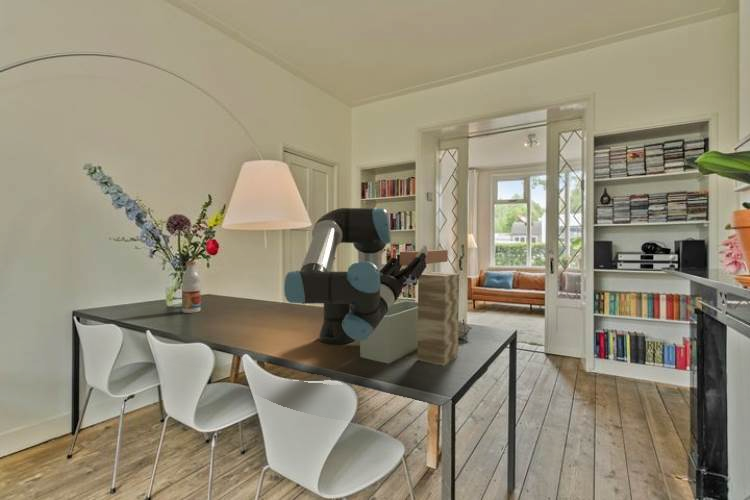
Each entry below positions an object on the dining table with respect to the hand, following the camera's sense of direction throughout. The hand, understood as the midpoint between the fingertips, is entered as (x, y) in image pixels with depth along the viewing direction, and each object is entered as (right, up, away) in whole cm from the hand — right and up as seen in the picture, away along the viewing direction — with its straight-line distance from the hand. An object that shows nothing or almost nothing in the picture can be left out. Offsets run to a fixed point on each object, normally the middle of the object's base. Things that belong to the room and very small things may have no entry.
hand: (419, 249), depth 114 cm
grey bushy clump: (+22, -38, +40) cm, 60 cm away
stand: (+8, -39, +15) cm, 42 cm away
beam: (+3, -5, +4) cm, 6 cm away
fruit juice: (-118, -35, +92) cm, 154 cm away
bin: (-5, -38, +25) cm, 46 cm away
